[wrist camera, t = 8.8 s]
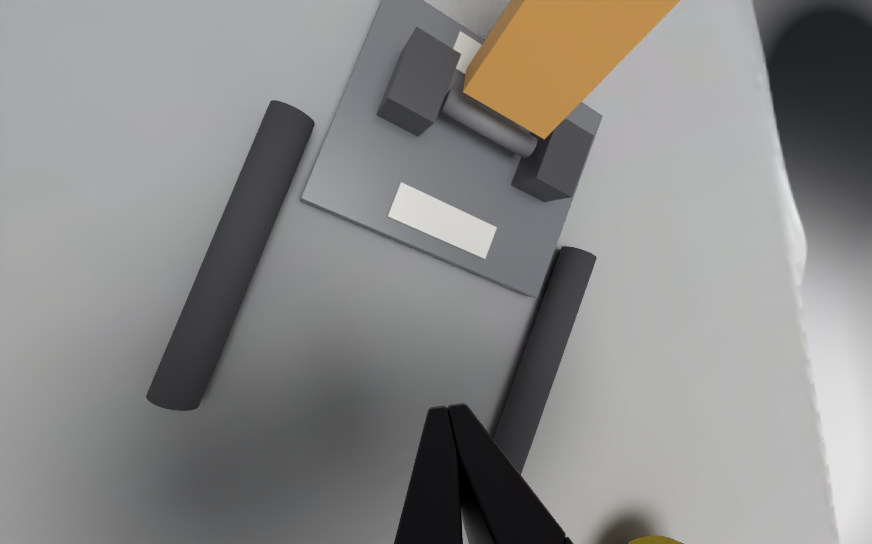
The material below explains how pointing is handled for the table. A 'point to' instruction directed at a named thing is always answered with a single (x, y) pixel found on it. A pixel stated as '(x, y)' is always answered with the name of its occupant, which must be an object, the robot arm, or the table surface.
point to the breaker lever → (546, 64)
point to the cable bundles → (240, 253)
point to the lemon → (654, 540)
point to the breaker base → (444, 157)
